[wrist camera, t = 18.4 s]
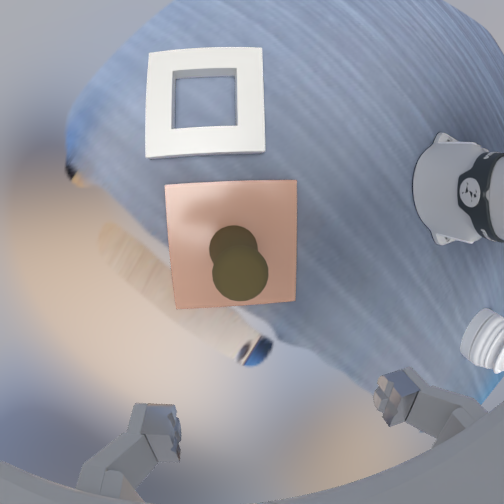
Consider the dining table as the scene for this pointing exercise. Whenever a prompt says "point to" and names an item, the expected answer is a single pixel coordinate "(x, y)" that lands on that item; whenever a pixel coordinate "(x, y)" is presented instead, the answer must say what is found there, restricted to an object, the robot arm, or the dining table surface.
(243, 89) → the frame
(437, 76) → the dining table surface
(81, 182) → the dining table surface
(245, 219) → the terracotta tile
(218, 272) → the olive pawn
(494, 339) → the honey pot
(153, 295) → the dining table surface
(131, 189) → the dining table surface
